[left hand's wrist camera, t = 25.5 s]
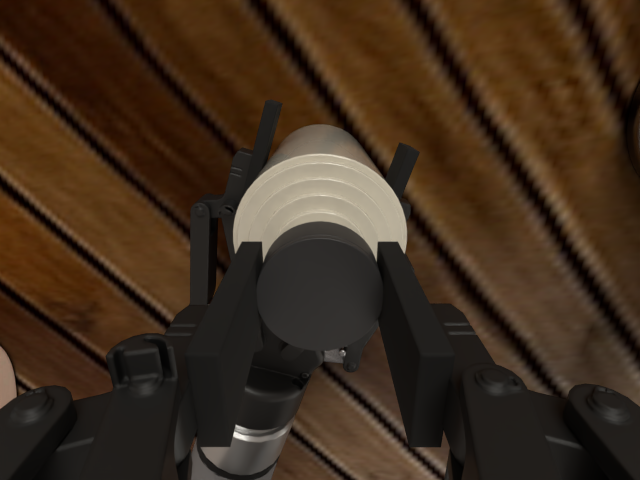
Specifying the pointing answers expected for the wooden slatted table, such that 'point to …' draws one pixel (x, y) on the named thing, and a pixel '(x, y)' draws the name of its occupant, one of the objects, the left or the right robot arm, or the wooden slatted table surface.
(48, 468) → the left robot arm
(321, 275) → the cap
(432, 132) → the wooden slatted table surface
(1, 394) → the anatomical model
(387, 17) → the wooden slatted table surface
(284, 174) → the bottle
